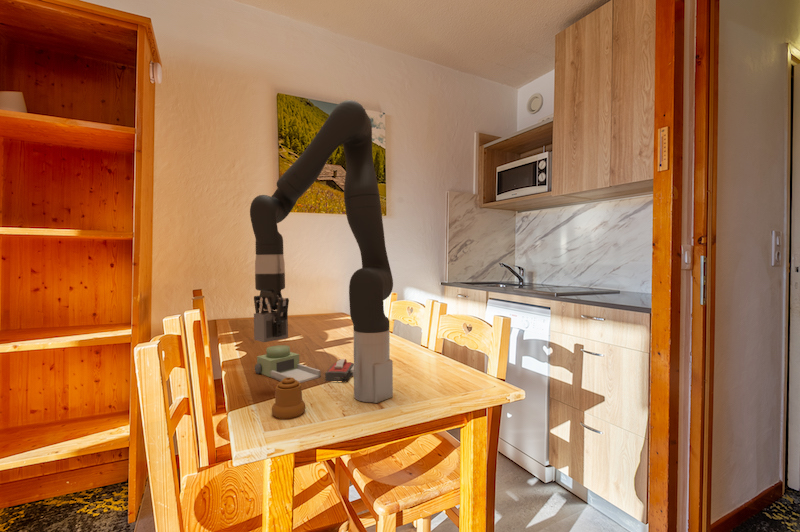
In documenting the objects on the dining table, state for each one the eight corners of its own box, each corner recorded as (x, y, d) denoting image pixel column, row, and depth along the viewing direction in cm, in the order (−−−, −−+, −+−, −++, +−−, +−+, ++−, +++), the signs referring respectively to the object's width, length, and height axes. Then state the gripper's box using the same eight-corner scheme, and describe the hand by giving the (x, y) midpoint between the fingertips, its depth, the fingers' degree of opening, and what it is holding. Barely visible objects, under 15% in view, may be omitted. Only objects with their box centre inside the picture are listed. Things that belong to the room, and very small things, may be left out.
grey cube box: (288, 338, 104) (287, 312, 104) (264, 342, 99) (263, 315, 99) (278, 335, 107) (277, 310, 107) (254, 339, 102) (253, 313, 102)
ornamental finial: (277, 407, 93) (308, 406, 93) (267, 420, 85) (301, 419, 85) (276, 374, 93) (308, 373, 93) (266, 384, 85) (300, 384, 85)
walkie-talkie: (353, 384, 109) (364, 365, 129) (353, 369, 109) (364, 351, 129) (323, 384, 110) (338, 364, 130) (322, 369, 110) (338, 351, 130)
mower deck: (322, 376, 116) (322, 351, 116) (288, 386, 107) (288, 359, 107) (287, 364, 129) (287, 342, 128) (254, 372, 120) (254, 349, 120)
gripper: (297, 271, 101) (298, 336, 101) (268, 271, 110) (270, 330, 111) (271, 272, 95) (272, 341, 95) (243, 272, 105) (244, 334, 105)
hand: (271, 335), depth 103 cm, fingers closed on grey cube box, 5 cm apart
